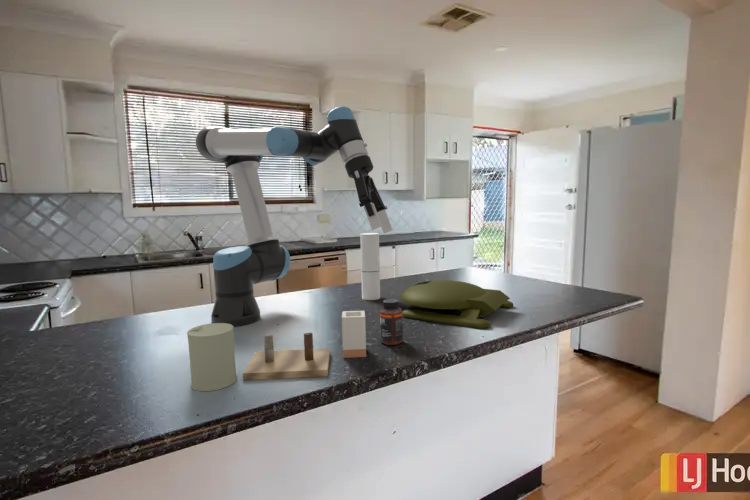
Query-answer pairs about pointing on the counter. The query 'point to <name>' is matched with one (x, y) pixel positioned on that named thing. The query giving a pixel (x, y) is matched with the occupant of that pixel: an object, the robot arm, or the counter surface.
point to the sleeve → (353, 334)
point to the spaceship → (454, 302)
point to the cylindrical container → (370, 266)
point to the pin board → (288, 361)
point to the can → (212, 356)
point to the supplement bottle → (391, 323)
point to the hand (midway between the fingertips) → (383, 230)
